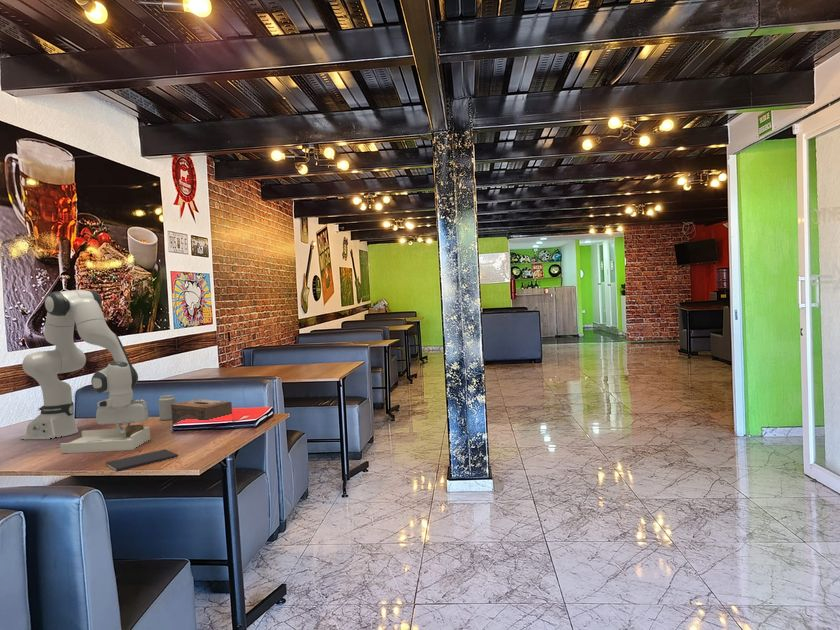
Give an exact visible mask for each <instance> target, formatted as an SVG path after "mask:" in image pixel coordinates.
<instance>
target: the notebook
mask: <svg viewBox="0 0 840 630" xmlns="http://www.w3.org/2000/svg"><path fill="white" fill-rule="evenodd" d="M177 456H178V457H179V454H178V453H175V452H173V451H170V450H168V449H159V450H155V451H150V452H146V453H142V454H141V453H140V454H138V455H133V456H127V457H124V458H119V459H116V460H110V461H109V460H108V461H106V462H105V464H106V467H108V468H110V469H111V470H113V471H115V472H122V471H126V470H130V469H134V468H138V467H142V466H147V465H151V463H152V464H155V463H154V462H156V463H160V462H163V460H165V461H167V460H166V459H169V460H171V459H170V458H173V459H175V458H174V457H177ZM178 457H177V458H178ZM159 461H160V462H159Z"/></svg>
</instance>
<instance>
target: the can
mask: <svg viewBox="0 0 840 630" xmlns="http://www.w3.org/2000/svg"><path fill="white" fill-rule="evenodd" d="M174 403H176V398H175V397H174V394H166V395H165V394H164V395H161V396H159V399H158V413H159V420H161V421H163V420H164V421H163V422H165V421H172V412H171V404H174Z"/></svg>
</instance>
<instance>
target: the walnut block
mask: <svg viewBox="0 0 840 630" xmlns="http://www.w3.org/2000/svg"><path fill="white" fill-rule="evenodd" d="M125 427H126V426H125ZM143 427H144V424H130V426H128V427H126V437H130V436H131V435H133V434H134V433H136V432H138V431H140V430H142V429H144V428H143Z"/></svg>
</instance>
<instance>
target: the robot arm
mask: <svg viewBox="0 0 840 630" xmlns="http://www.w3.org/2000/svg"><path fill="white" fill-rule="evenodd" d="M44 307H45V310H46V317H45V318H46V319H45V324H44V325H45V326H44V333H43V337H44V339H45V341H46V342H48V343H49V344H51V345H54V346H55V349H53V350H41V351H36V352H31V353H30V354H27V355H25V357H24V358H23V360H22V362H21V363H22V364H21V366H22V370H23V371H24V374H26V375H28V376H29V377H31V378H33V379H34V380H35V381H36V382H37V383H38V385H39V387H40V388H41V392H42V393H41V394H42V398H43V405H42V406H41V407H38V410H37V411H40V413H39V415H37V416H36V417H35V418H34V419H33V420H31V421H30V422H29V423H28V424H27V426H26V433H25V434H23V435H21V436H20V440H22V439H24V440H51V439H50V438H52V439H56V438H55V437H57V438H62V437H67V436H71V435H75V434H77V433H79V429H78V427H77V424H76V419H75V415H74V414H75V405H74V401H73V393H72V392H73V391H72V387H71V385H70V384H69V383H68V382H65V381H64V380H63V381H62V380H60V379H59V378H58V375H59V374H65V373H72V372H75V371H79V370H81V369H83V368H84V366H85V365H86V362H87V356H86V354H85V353H84V351H83V350H82V349H80V348H78V347H77V346H76V343H75V341H74V334H75V333H74V331H75V327H76V330H77V334H78V336H79V337H80V339H81V340H82V341H84V342H85V343H87V344H89V345H94V346H98V347H102V348H104V349H106V350H107V351H108V352H109V353H110V354H111V357H112V359H113V360H114V361H112V362H110V363H108V365H107V366H106V367H105V368H103V369H99V370H97V371H95V373H93V375H92V377H91V387H92V389H93V390H94V391H95V392H97V393H102V394H105V393H108V397H107V398H104V399H103V400H100V401H98V402H97V403H96V406H97V409H96V411H95V412H96V414H95V417H96V418H95V420H96V423H97V424H98V425H112V424H115V427H116V429H118V430H119V434H126V427H128V426H131V423H144V422H147V421H148V420H149V411H148V402H147V401H146V400H144V399H134V393H133V392H134V391H133V389H134V387H135V386H136V385H137V384H138V381H139V375H138V372H137V370H136V369H135V367H134V366H133V364H132V362H131V361H130V360H131V359H130V358H129V356H128V354H127V352H126V349H125V348H124V346H123V345H124V344H122V341H121V339H120V338H119V336H118V335H117V333H115V332H113V331H112V330H111V328H110V327H109V326H108V324H107V322H106V319H105V316H104V313H103V311H102V308H101V307H102V298H101V295H100V294H99V292H97V291H95V290H92V289H86V290H84V289H82V290H81V289H72V290H64V291H59V290H58V291H51V292H49V293H47V295H46V296H45V298H44ZM122 424H124V426H125V427H122ZM123 428H125V429H123ZM61 436H62V437H61Z"/></svg>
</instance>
